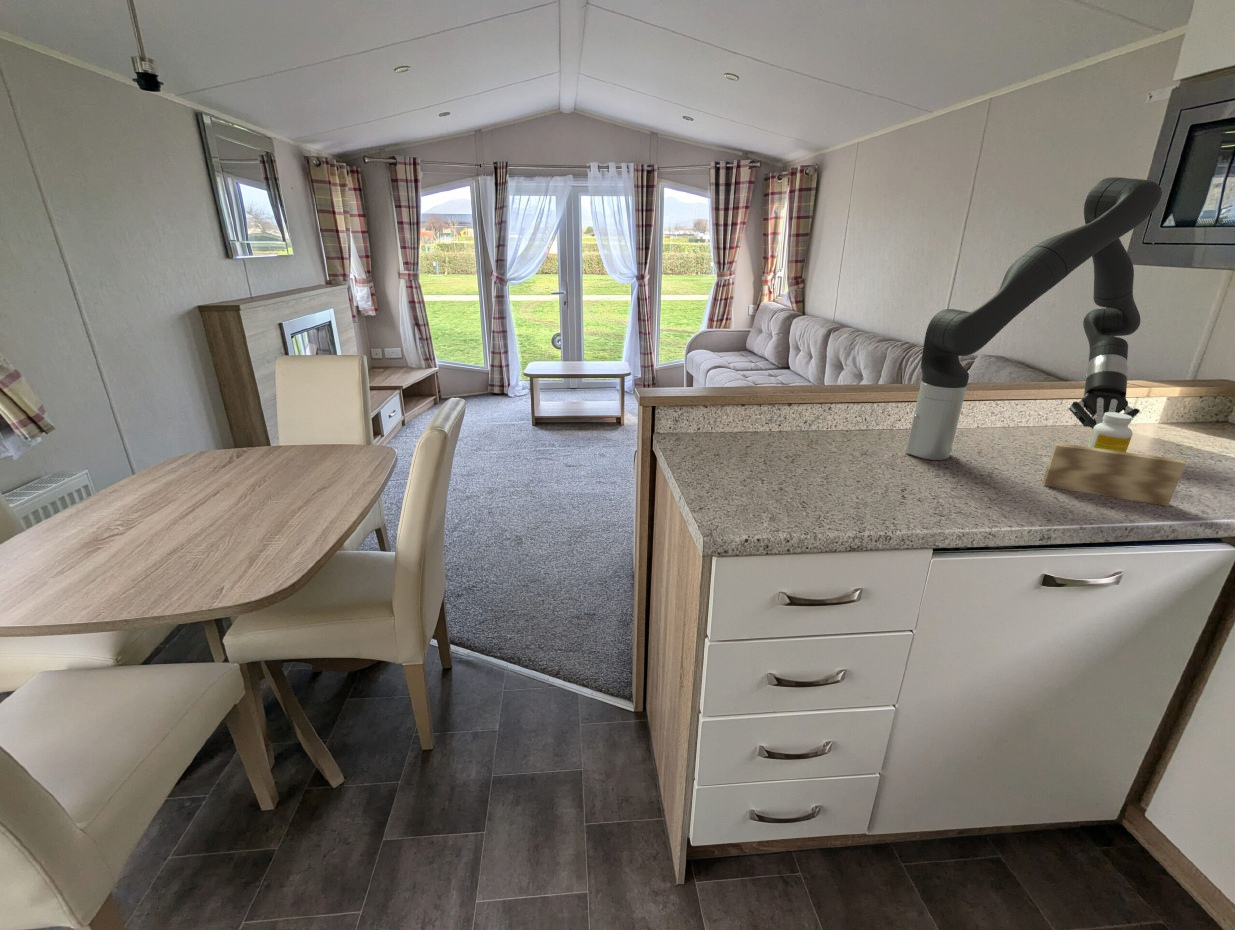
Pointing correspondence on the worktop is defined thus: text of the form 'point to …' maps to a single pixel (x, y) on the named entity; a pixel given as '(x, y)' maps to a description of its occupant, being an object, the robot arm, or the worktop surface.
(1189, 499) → the worktop surface
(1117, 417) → the supplement bottle
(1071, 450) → the wall board
